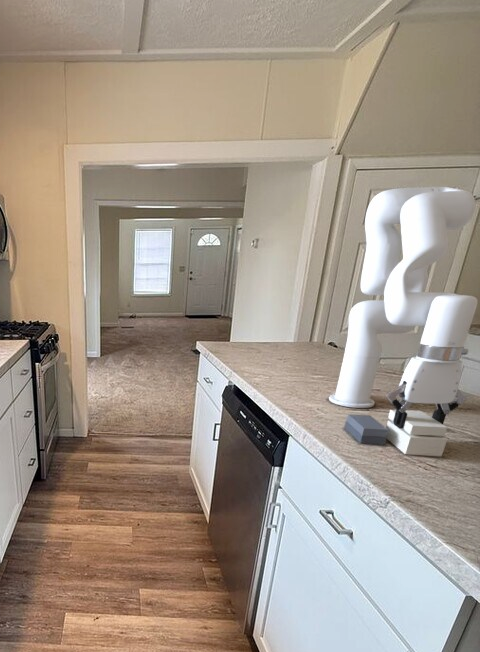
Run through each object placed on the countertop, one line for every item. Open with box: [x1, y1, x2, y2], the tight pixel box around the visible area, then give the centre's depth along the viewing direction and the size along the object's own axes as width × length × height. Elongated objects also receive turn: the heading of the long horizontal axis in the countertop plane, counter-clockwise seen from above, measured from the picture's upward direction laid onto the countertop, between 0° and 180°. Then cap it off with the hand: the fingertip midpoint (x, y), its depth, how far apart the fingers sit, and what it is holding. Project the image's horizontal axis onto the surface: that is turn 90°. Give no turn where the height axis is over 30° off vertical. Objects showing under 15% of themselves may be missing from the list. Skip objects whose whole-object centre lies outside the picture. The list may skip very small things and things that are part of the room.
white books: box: [385, 420, 448, 457], centre depth 97 cm, size 11×8×4 cm
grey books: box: [343, 414, 388, 446], centre depth 103 cm, size 11×6×4 cm, turn 169°
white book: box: [387, 409, 448, 437], centre depth 96 cm, size 11×7×2 cm, turn 169°
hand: (416, 426), depth 96 cm, fingers closed on white book, 7 cm apart
